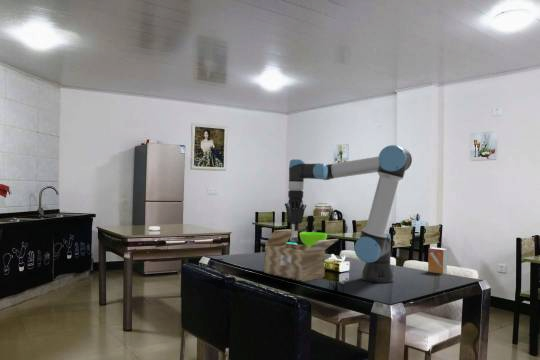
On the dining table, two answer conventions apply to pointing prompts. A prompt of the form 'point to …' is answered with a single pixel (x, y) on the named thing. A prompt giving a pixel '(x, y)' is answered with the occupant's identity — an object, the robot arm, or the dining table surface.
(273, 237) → the far flap
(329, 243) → the near flap
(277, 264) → the carton
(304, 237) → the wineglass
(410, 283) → the dining table surface
